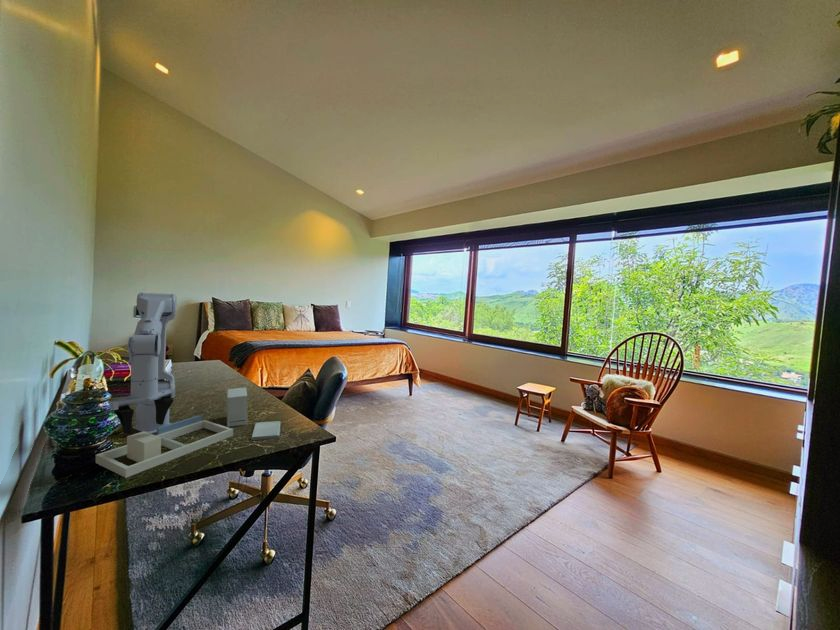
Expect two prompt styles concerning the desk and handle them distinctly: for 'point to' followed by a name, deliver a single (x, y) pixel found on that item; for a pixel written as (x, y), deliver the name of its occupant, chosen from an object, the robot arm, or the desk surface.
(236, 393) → the skincare box
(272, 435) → the hard drive
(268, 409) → the desk surface
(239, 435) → the desk surface
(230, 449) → the desk surface
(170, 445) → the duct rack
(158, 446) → the cream rectangular block
